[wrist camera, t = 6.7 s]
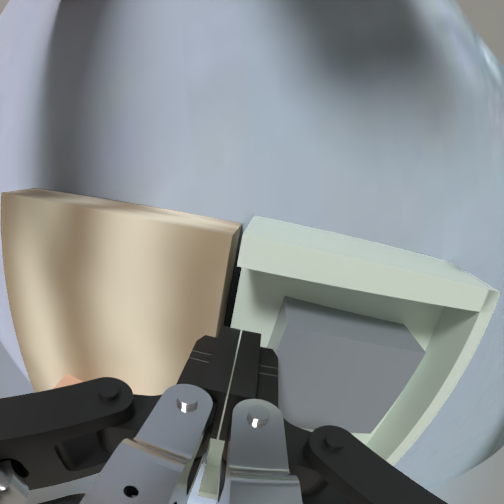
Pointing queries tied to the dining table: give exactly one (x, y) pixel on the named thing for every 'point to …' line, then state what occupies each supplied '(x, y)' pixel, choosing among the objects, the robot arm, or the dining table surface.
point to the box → (364, 303)
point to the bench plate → (112, 286)
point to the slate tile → (339, 365)
